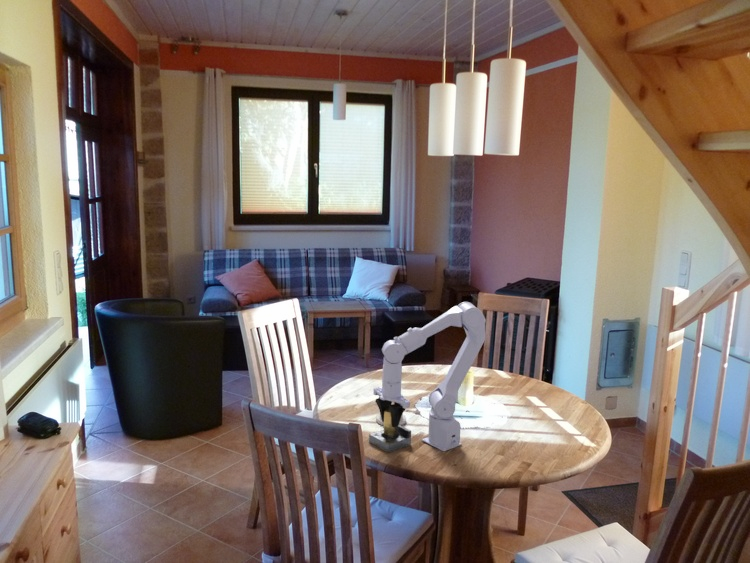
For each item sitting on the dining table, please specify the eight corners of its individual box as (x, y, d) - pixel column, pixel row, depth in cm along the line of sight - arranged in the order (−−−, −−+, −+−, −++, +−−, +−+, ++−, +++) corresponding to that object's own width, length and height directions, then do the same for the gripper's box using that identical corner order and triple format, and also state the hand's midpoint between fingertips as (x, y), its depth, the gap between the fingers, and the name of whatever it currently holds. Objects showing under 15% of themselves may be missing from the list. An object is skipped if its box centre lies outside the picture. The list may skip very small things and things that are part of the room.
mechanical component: (373, 425, 195) (403, 429, 193) (373, 412, 195) (403, 416, 192) (379, 414, 205) (408, 417, 203) (379, 402, 204) (408, 405, 202)
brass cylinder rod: (399, 433, 181) (400, 411, 180) (389, 436, 178) (390, 414, 177) (390, 429, 184) (390, 407, 183) (380, 432, 181) (381, 410, 180)
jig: (410, 444, 181) (411, 430, 180) (388, 452, 175) (388, 438, 175) (391, 434, 188) (391, 421, 187) (369, 441, 182) (369, 427, 182)
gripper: (366, 376, 181) (365, 418, 184) (397, 390, 170) (396, 435, 173) (384, 372, 186) (382, 413, 188) (415, 385, 175) (414, 429, 177)
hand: (390, 423), depth 181 cm, fingers closed on brass cylinder rod, 4 cm apart
